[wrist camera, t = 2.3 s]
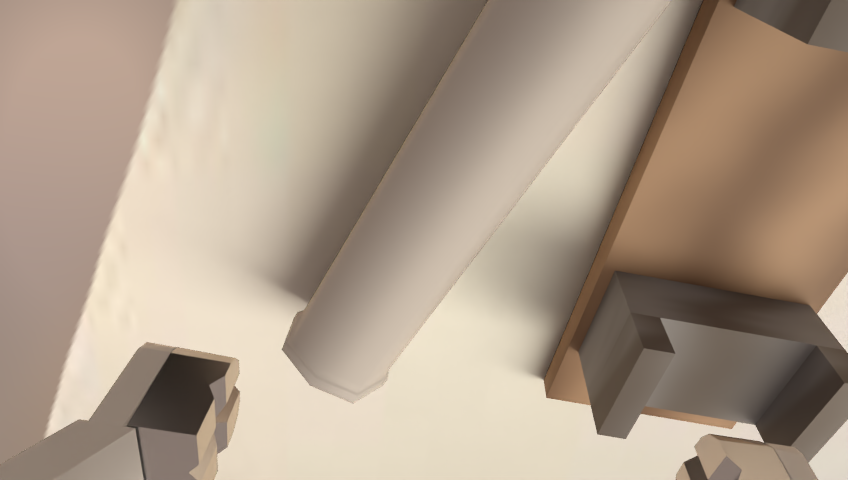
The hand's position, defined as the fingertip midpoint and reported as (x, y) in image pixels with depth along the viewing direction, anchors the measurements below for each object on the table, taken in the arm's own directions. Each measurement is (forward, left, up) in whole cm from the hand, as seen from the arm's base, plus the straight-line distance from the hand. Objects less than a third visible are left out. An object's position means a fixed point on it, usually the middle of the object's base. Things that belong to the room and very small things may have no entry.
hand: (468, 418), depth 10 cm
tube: (0, 0, -15) cm, 15 cm away
